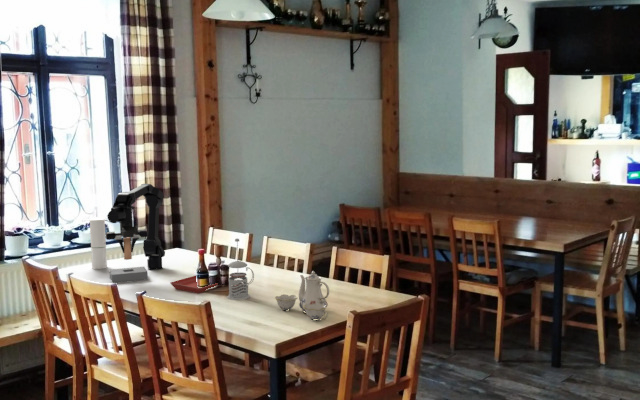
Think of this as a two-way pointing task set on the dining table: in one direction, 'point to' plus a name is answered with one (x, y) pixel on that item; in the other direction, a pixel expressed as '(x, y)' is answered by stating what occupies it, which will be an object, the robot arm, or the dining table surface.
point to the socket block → (128, 274)
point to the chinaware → (307, 297)
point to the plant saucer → (190, 285)
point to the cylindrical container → (98, 243)
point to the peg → (127, 248)
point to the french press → (238, 281)
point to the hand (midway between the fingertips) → (127, 252)
